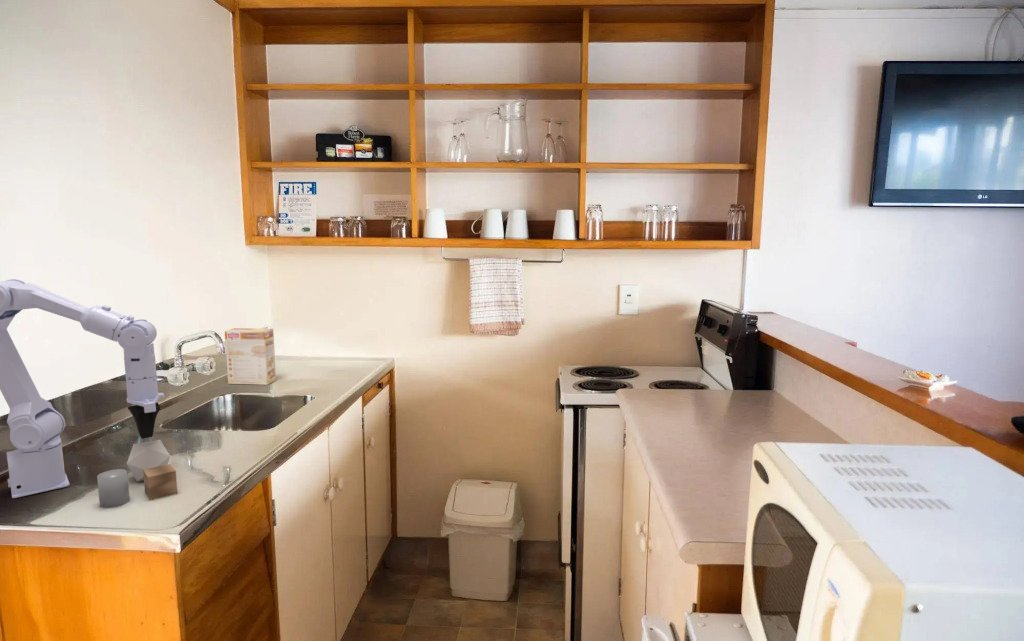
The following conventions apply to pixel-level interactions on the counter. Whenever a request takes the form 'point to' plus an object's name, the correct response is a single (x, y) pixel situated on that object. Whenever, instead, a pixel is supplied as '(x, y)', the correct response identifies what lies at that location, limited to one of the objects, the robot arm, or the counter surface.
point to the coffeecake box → (250, 356)
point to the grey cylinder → (113, 488)
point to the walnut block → (160, 481)
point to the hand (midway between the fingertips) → (146, 437)
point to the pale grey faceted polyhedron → (147, 457)
